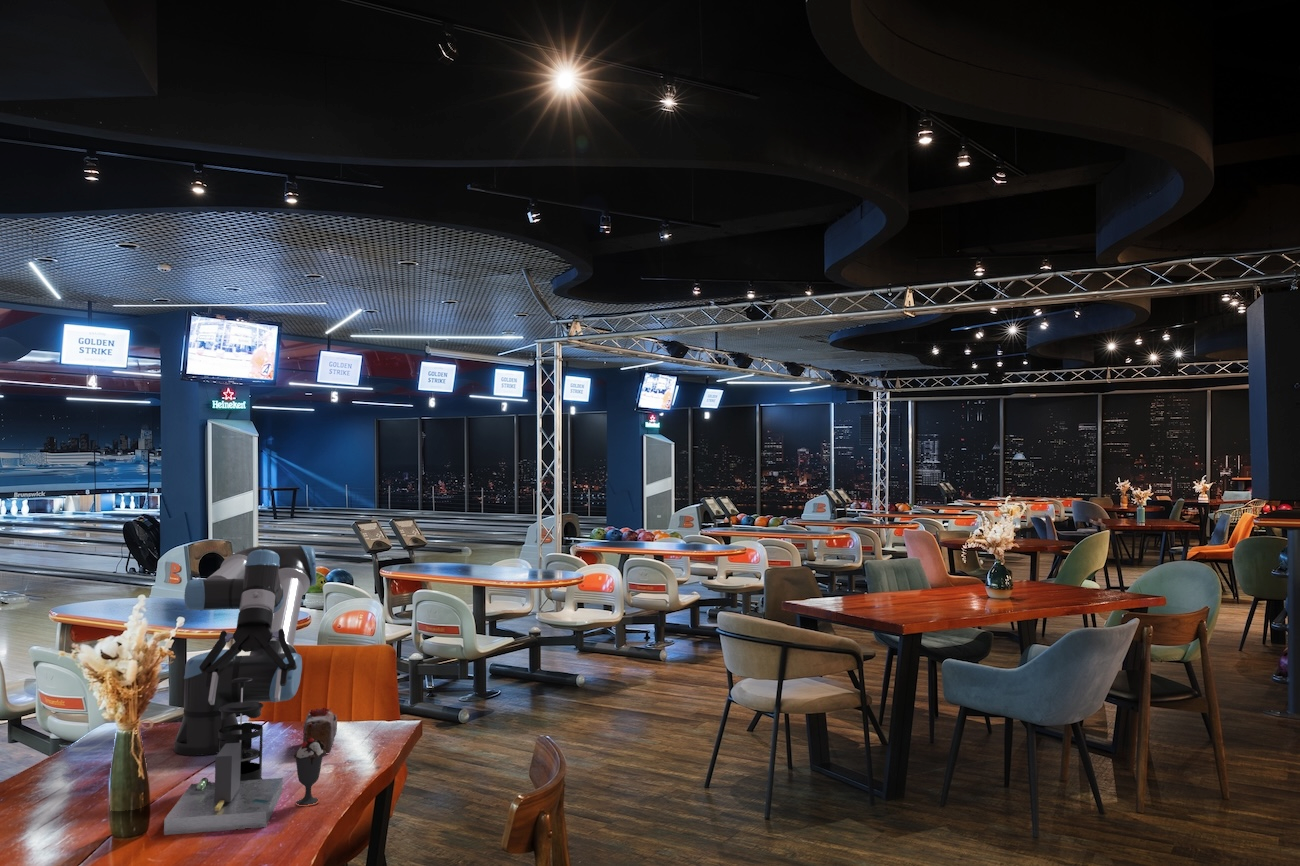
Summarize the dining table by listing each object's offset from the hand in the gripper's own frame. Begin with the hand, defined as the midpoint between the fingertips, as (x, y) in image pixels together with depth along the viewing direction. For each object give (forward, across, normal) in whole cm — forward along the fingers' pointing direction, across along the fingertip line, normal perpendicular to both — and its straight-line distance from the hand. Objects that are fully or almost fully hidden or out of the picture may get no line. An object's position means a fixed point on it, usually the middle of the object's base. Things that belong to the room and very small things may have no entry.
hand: (244, 701), depth 202 cm
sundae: (+24, +16, -4) cm, 29 cm away
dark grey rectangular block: (+23, +1, -10) cm, 25 cm away
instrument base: (+25, +1, -6) cm, 25 cm away
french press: (+15, 0, +10) cm, 18 cm away
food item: (+2, +14, +30) cm, 33 cm away
